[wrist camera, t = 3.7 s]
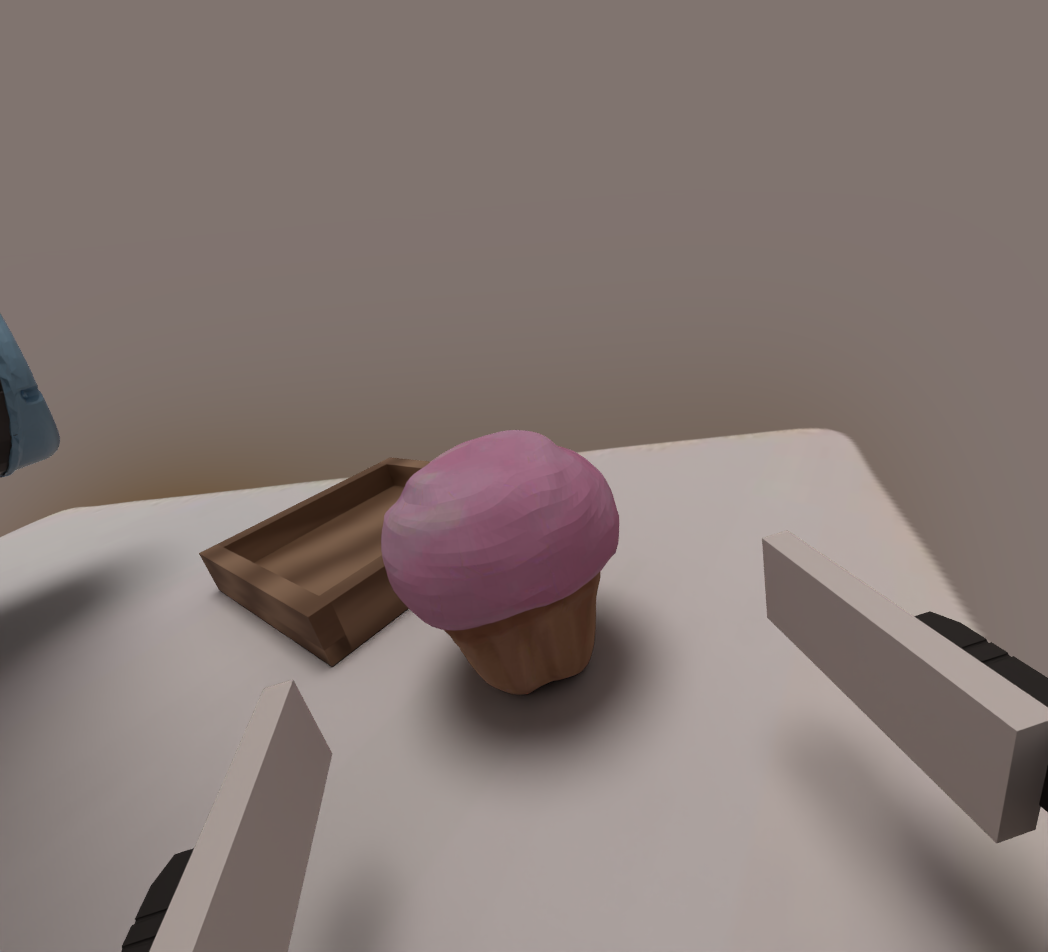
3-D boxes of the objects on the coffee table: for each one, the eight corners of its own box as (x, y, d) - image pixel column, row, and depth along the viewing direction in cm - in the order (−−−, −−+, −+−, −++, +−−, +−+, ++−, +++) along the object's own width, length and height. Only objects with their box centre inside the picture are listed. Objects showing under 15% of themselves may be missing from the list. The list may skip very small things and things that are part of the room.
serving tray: (219, 589, 35) (198, 553, 34) (400, 488, 45) (389, 457, 44) (331, 666, 24) (307, 617, 23) (535, 510, 35) (525, 471, 34)
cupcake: (593, 574, 26) (553, 390, 23) (684, 690, 18) (645, 435, 15) (428, 635, 25) (356, 449, 21) (449, 789, 17) (341, 534, 13)
